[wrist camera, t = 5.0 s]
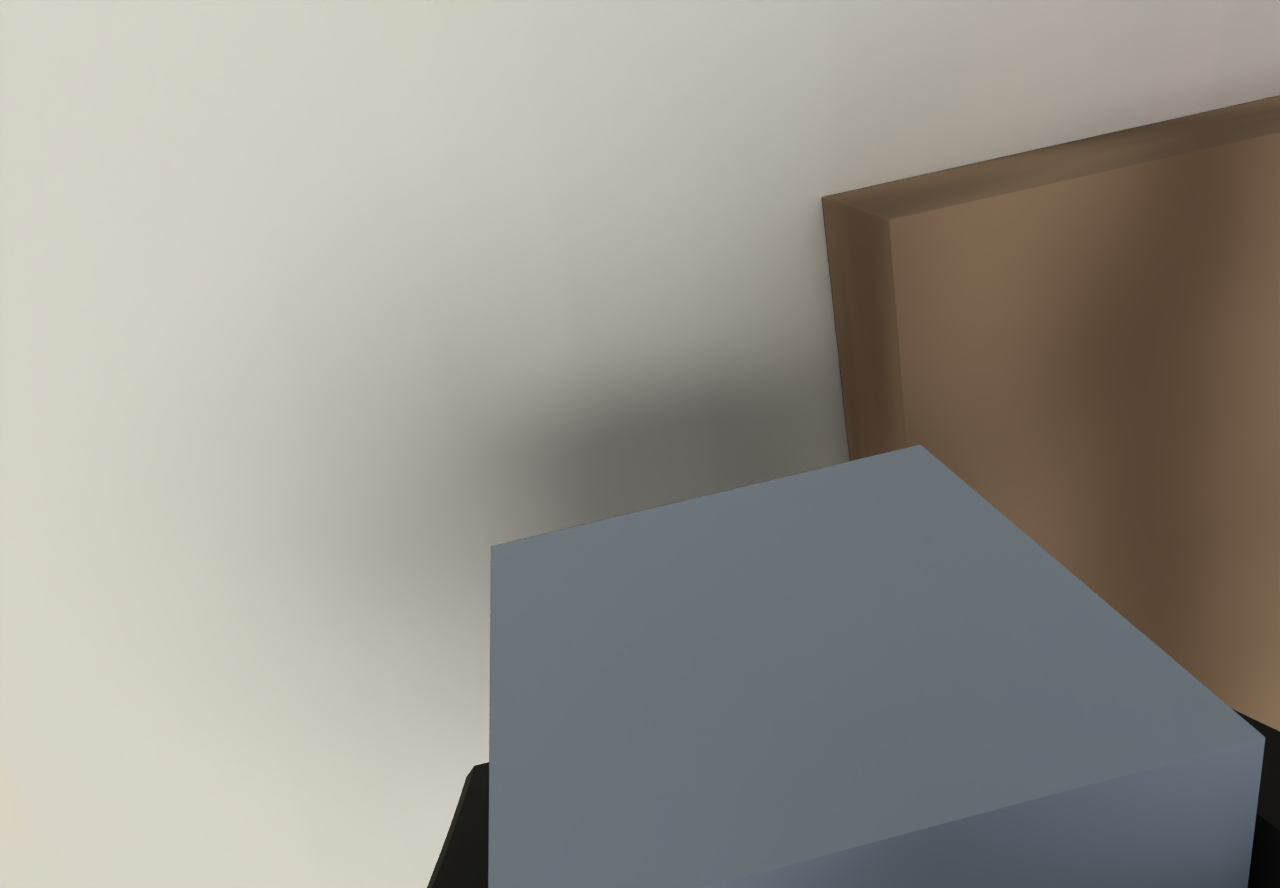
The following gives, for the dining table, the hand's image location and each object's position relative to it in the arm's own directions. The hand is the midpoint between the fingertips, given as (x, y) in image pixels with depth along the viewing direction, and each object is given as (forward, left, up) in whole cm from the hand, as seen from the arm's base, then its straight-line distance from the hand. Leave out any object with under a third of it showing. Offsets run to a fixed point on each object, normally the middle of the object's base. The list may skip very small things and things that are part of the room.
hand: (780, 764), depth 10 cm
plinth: (-9, +4, -9) cm, 13 cm away
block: (0, 0, -2) cm, 2 cm away
